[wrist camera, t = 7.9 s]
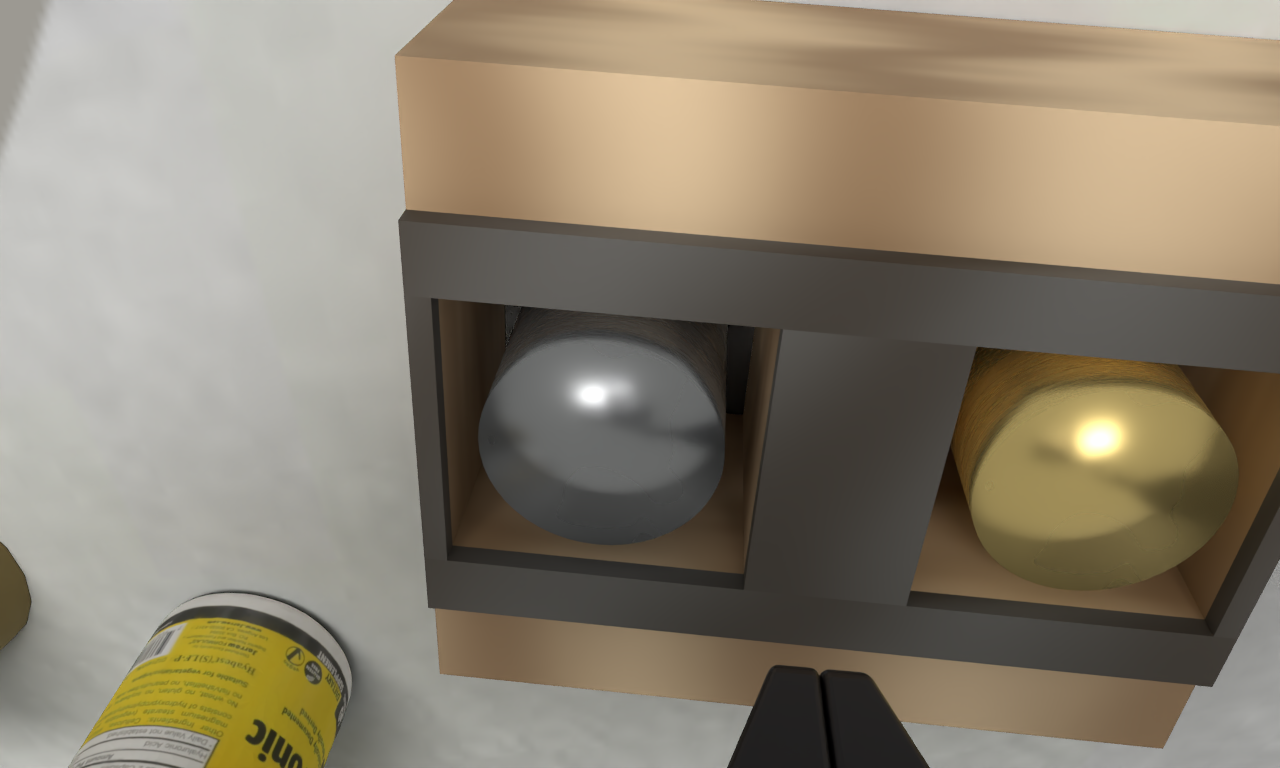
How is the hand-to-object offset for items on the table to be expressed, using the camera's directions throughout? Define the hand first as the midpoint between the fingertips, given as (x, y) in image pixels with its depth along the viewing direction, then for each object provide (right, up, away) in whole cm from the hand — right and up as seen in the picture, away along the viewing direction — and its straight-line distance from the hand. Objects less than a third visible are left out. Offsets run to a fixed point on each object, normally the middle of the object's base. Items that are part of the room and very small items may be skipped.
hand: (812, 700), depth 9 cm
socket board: (+2, +4, +12) cm, 13 cm away
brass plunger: (+6, +4, +12) cm, 14 cm away
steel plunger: (-2, +5, +12) cm, 13 cm away
